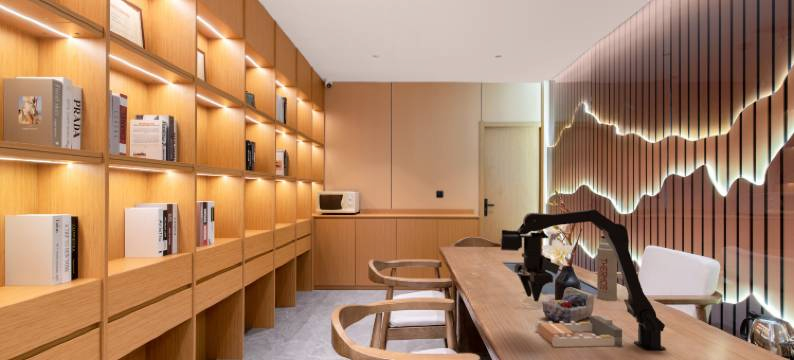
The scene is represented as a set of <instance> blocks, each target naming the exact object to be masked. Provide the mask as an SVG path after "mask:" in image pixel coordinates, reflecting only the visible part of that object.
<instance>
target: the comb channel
mask: <svg viewBox="0 0 794 360" xmlns="http://www.w3.org/2000/svg"><path fill="white" fill-rule="evenodd" d="M589 321H590V322H588V321H578V322H574V321H571V323H564V322H563V321H560V322H557V323H556V324H561V325H563V326H564V327H566V328H567V329H569V330H570V331H571V332H573V333H577V332H578V333H579V332H581V333H579V334H578V335H577V336H574V337H571V335H569V334H566V337H559V336H558V335H554V337H552V343H551V344H552V346H553V347H554V348H557V347H558V348H560V347H561V348H562V347H563V348H564V347H565V348H567V347H569V348H570V347H571V348H572V347H574V348H575V347H611V346H612V347H614V346H615V347H616V346H617V347H618V346H621V347H622V346H623V329H622V328H620V327H619V326H617V325H615V324H614V323H613V319H612V318H609V317H608V316H606V315H591V316H589ZM548 323H552V324H554V322H553V321H552V320H549V321H548ZM548 323H547V324H548ZM540 324H543V323H542V322H541V321H536V323H535V332H536V333H539V334H540ZM582 332H583V333H584V332H587V333H589V332H592V333H590V336H585V335H583V334H582Z"/></svg>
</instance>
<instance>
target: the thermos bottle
mask: <svg viewBox="0 0 794 360" xmlns="http://www.w3.org/2000/svg"><path fill="white" fill-rule="evenodd" d="M600 238H601V239H600V241H599V243H598V247H597V249H596V251H597V253H596V256H597V257H596V258H597V260H596V261H597V264H596V265H597V266H596V268H597V269H596V271H597V273H596V274H597V283H596V286H597V287H596V289H597V292H596V293H597V294H596V295H597V299H599V300H603V301H617V300H618V262H617V259H616V256H615V253H614V251H613V249H612V248H611V247H610V245H609V244H608V242H607V240H606V238H605V237H604V235H601V236H600Z"/></svg>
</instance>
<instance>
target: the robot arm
mask: <svg viewBox="0 0 794 360" xmlns="http://www.w3.org/2000/svg"><path fill="white" fill-rule="evenodd" d="M522 220H523V221H522V224H521V225H520V226H519V227H518V229H516V230H510V229H509V230H507V229H502V230H501V238H500V251H511V252H512V251H513V252H514V251H515V252H518V251H519V249H521V248H523V252H522V253H521V257H523V263H515V265H514V272H515V273H517V277H518V278H519V280H520V283H521V284H522V287H523V289H524V291H525V294H526V296H527V298H528V297H530V298H531V297H532V298H533V301H534V302H539V300H540V296H541V294H542V290H543V288H544V286H546V285H547V284H550V283H551V284H552V283H554V276H553V274H554V275H558V273H559V269H560V268H561V265H559V264H557V263H554V262H553V261H552V258H550V257H547V256H545V255H544V254H542V253H543V239H549V236H548V235H547V234H546V233H545V231H544V230H545V229H548V228H551V227H554V226H562V225H572V224H581V223H591V224H593V225H594V226H595V227H596V228H597V229H599V230H600V231H601V232H602V236H604V237H605V238H606V240H607V242H608V244H609V245H610V247H611V248H612V249H613V251H614V253H615V256H616V259H617V266H618V267H619V270H620V272H621V276H622V280H623V283H624V285H625V287H626V288H625V289H626V291H627V294H628V295H627V299H623V302H624V303H625V306H626V312H627V313H629V314H630V315H631V316H632V318H633V319H635V322H636V323H637V324H638V325H637V326H638V328H637V336H638V337H637V341H636V340H634V341H633V344H635V345H636V346H639V347H640V348H642V349H644V350H645V351H661V350H663V351H664V350H665V351H666V350H667V348H666V347H665V346H663V345H662V332H663V331H664V329H665V326H666V325H665V323H663V321H662V320H661V319H659V318H658V316H657V312H656V310H655V309H654V307H653V305H652V304H651V302H650V301H649V299H648V297H647V296H646V295H645V293H644V290H643V288H642V284H641V282H640V279H639V276H638V273H637V271H636V268H635V264H634V262H633V259H632V255H631V253H630V250H629V249H630V248H629V247H630V244H629V243H630V239H629V232H628V229H627V227H626V226H625V225H624V224H621V223H618V222H614V221H613V220H611V219H610V218H608V217H607V216H605V215H603V214H602V213H600V212H599V211H598V210H597V209H594V208H588V209H585V210H575V211H567V212H566V211H565V212H559V213H542V212H541V213H540V212H529V213H526V214H525V215H524V217H523V219H522ZM539 231H540V232H539Z"/></svg>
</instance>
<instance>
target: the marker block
mask: <svg viewBox="0 0 794 360" xmlns="http://www.w3.org/2000/svg"><path fill="white" fill-rule="evenodd" d="M539 334H540V335H541V336H542V337H543V338H545V339H546V340H547V341H548V342H550V344H552V337H554V335H558V336H559V337H566V334H569V335H571V337H575V332H571V331H570V330H569V329H567V328H566V327H564V326H563V325H561V324H557V323H553V324H552V323H542V324H540V333H539Z"/></svg>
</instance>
